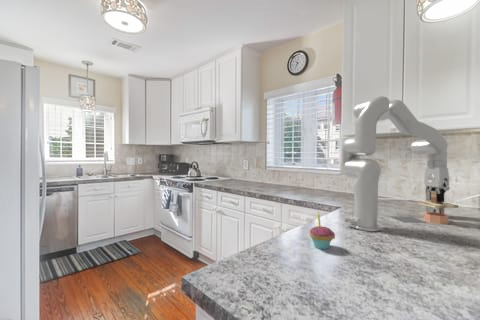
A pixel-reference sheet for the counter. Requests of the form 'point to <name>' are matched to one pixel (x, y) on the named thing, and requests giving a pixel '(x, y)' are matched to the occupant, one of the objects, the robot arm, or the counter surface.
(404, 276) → the counter surface
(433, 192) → the lid
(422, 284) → the counter surface
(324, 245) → the cupcake
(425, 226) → the counter surface
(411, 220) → the mat
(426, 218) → the bowl
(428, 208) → the coffee box
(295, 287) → the counter surface
